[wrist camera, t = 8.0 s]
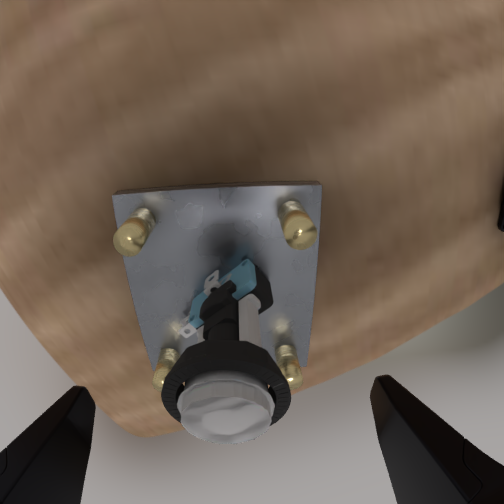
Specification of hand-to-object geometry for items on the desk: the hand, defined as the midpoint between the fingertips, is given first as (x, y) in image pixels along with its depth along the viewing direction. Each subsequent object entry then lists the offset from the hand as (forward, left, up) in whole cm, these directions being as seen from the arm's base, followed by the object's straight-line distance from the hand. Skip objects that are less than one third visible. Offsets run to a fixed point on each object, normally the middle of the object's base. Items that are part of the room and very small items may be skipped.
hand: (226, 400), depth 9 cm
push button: (+1, +4, -12) cm, 12 cm away
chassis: (+1, +4, -12) cm, 13 cm away
